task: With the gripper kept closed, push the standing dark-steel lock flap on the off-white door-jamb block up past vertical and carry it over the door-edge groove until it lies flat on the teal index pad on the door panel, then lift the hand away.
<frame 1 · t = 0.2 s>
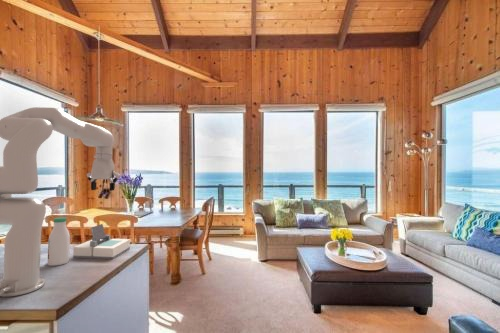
hand: (102, 190, 133), 31 cm above the table, tool pointing down, fingers open, 9 cm apart
lock flap: (98, 234, 128), point 9 cm above the table, hinge at 72.0°
milk bottle: (58, 263, 113), on the table
door fixture: (103, 252, 127), on the table
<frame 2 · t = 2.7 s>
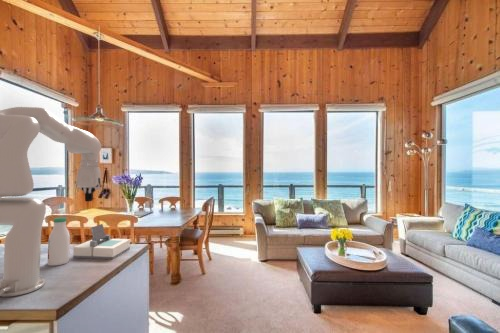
hand: (88, 200, 127), 26 cm above the table, tool pointing down, fingers closed
nothing on the table moved.
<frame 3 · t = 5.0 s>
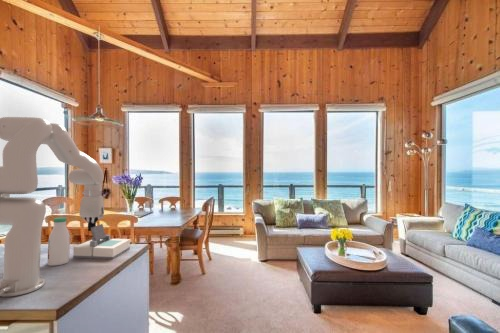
hand: (91, 230, 128), 11 cm above the table, tool pointing down, fingers closed
lock flap: (98, 234, 128), point 9 cm above the table, hinge at 72.0°, touching gripper
everything else where it was.
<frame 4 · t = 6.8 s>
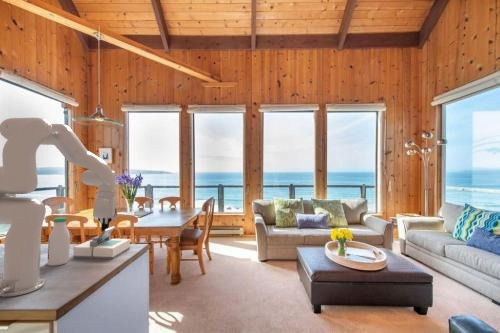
hand: (105, 231, 128), 11 cm above the table, tool pointing down, fingers closed
lock flap: (104, 235, 127), point 9 cm above the table, hinge at 125.2°, touching gripper
everything else where it was.
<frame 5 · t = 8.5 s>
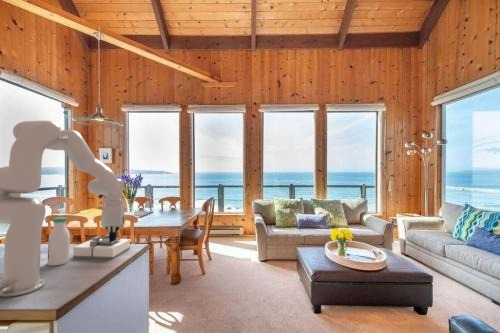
hand: (112, 239, 128), 7 cm above the table, tool pointing down, fingers closed
lock flap: (107, 240, 127), point 6 cm above the table, hinge at 177.9°, touching gripper
everything else where it was.
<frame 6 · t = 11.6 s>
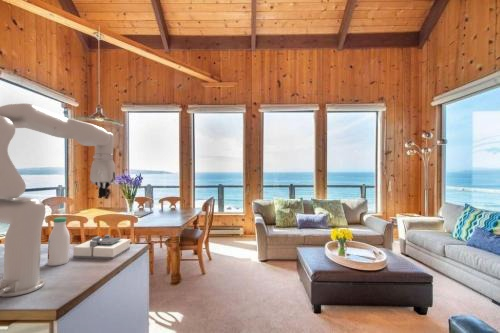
hand: (102, 196, 121), 29 cm above the table, tool pointing down, fingers closed
lock flap: (107, 240, 127), point 6 cm above the table, hinge at 178.0°
everything else where it was.
at the end: lock flap at +178° (first picture: +72°) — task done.
